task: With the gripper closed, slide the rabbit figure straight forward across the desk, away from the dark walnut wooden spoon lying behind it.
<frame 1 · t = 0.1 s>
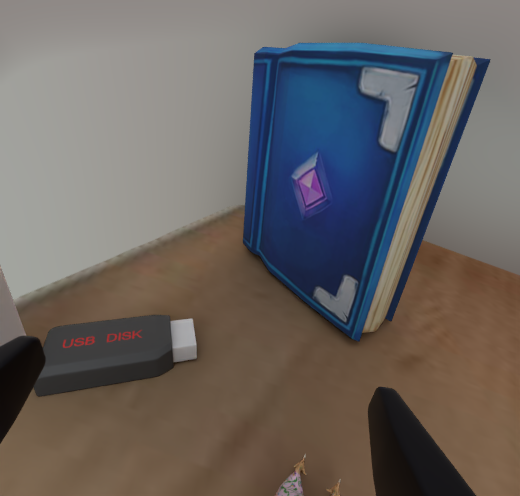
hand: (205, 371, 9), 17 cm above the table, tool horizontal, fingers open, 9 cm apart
usb drive: (124, 358, 28), on the table
book: (303, 280, 41), on the table
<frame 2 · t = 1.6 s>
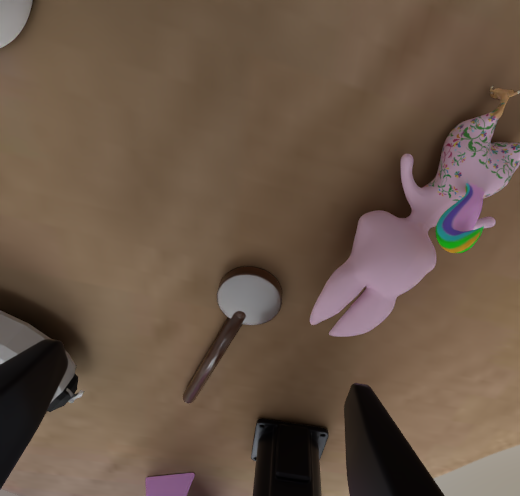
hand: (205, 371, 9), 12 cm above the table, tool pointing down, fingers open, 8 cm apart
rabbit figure: (398, 217, 19), on the table
toy chair: (187, 492, 39), on the table
spoon: (220, 341, 25), on the table
robot toy: (16, 351, 28), on the table
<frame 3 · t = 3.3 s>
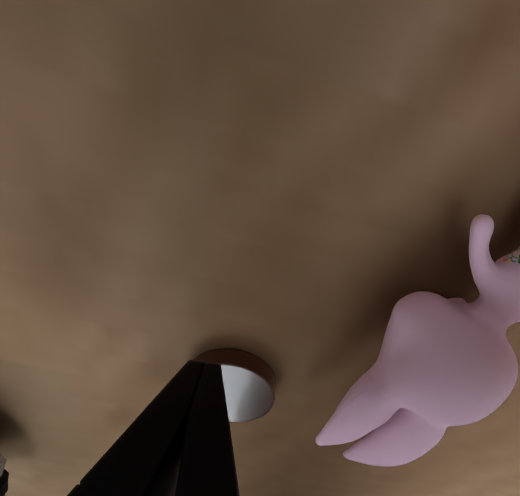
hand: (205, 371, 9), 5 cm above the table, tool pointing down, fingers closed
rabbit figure: (447, 292, 13), on the table
spoon: (195, 431, 19), on the table
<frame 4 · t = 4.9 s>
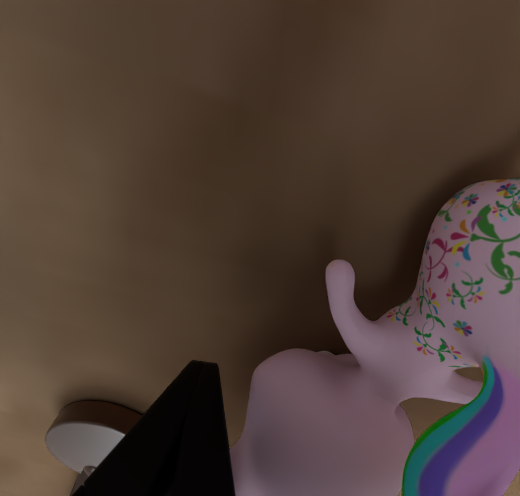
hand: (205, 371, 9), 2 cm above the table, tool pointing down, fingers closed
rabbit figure: (345, 343, 10), on the table, touching gripper
spoon: (88, 484, 16), on the table
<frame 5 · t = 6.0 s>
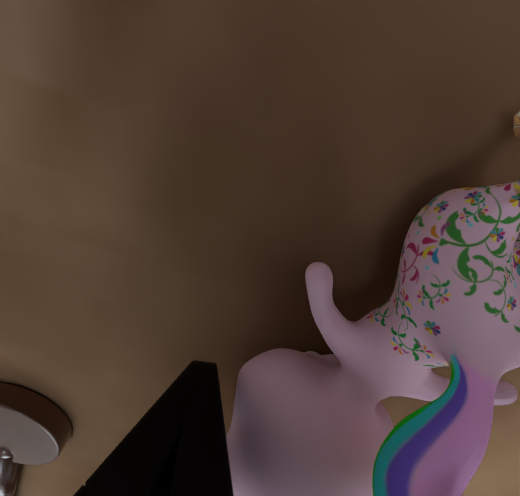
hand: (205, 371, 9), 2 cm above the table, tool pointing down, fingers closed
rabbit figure: (331, 344, 10), on the table, touching gripper
spoon: (12, 469, 17), on the table
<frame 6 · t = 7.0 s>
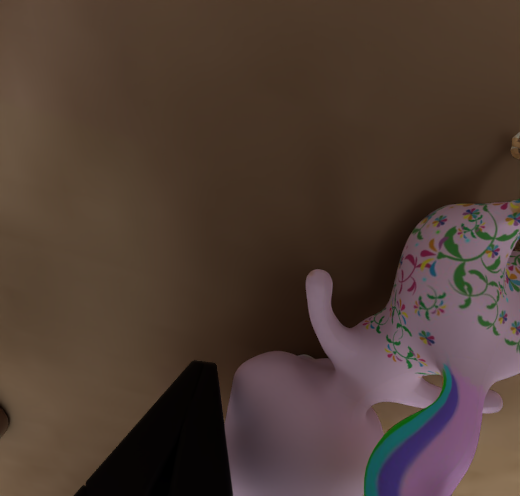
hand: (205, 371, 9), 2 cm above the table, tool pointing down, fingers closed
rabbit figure: (325, 348, 10), on the table, touching gripper
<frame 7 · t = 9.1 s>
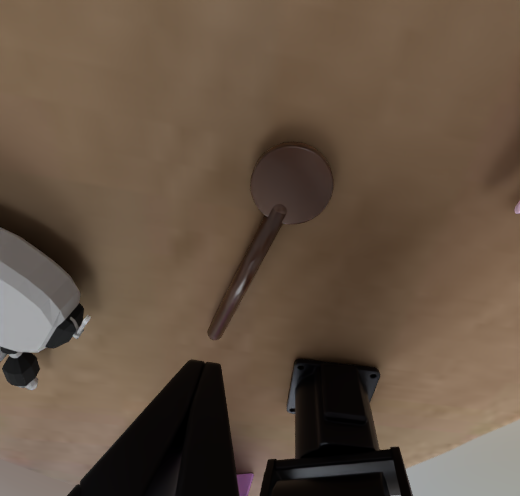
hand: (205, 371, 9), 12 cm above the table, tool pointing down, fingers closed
spoon: (253, 256, 21), on the table
robot toy: (11, 286, 24), on the table
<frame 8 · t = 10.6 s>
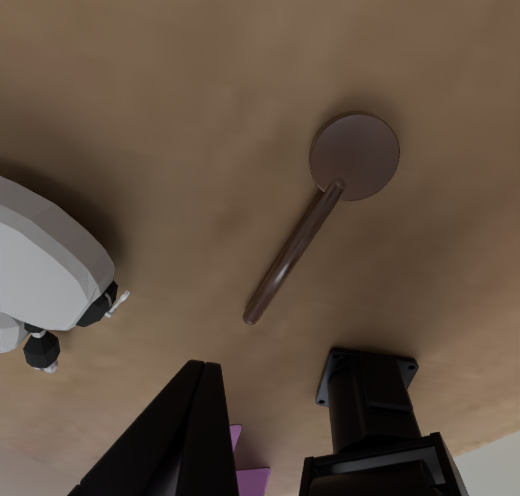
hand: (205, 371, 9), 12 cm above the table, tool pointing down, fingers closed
toy chair: (229, 450, 34), on the table
spoon: (299, 236, 20), on the table
robot toy: (36, 262, 23), on the table
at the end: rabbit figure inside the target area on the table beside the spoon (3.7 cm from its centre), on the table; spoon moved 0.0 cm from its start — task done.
